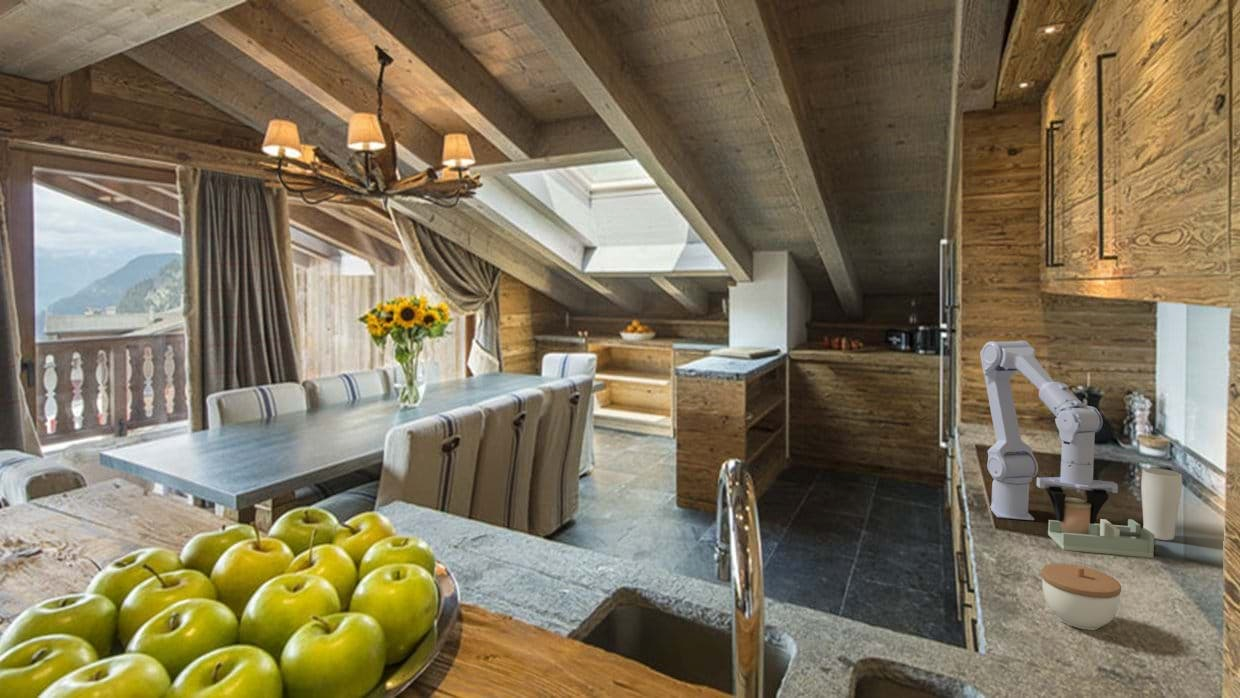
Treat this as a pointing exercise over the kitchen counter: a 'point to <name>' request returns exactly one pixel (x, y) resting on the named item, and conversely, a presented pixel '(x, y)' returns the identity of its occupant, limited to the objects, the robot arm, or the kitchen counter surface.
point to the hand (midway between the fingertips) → (1074, 521)
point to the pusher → (1114, 530)
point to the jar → (1076, 516)
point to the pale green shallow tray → (1105, 540)
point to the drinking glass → (1160, 501)
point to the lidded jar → (1080, 595)
